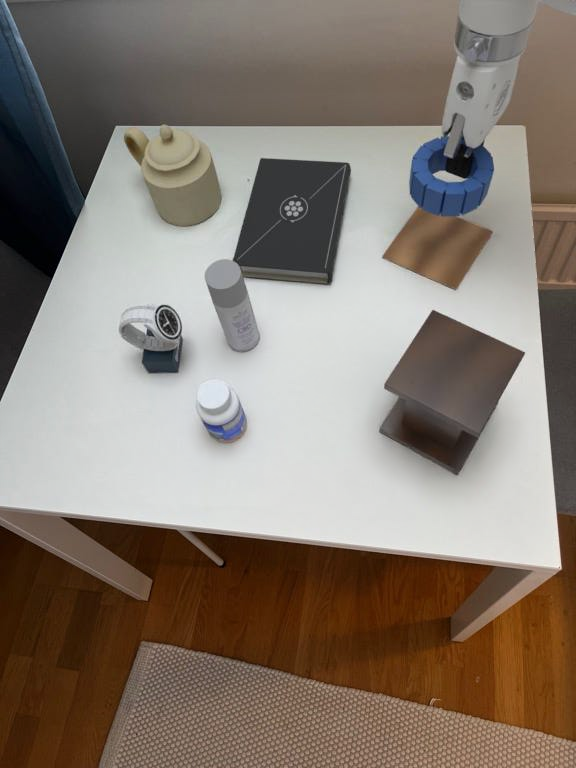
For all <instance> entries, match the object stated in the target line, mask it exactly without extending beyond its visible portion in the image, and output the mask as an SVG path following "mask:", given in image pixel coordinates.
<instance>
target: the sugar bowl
mask: <svg viewBox="0 0 576 768" xmlns="http://www.w3.org/2000/svg"><path fill="white" fill-rule="evenodd" d="M123 141H124V144H125V146H126V148H127V150H128V152H129V154H130V155H131V156H132V158H133V159H134V160H135V161H136V163H137V164H138V165H139V166H140V172H141V175H142V177H143V180H144V182H145V185H146V188H147V190H148V192H149V195H150V197H151V199H152V202H153V203H154V206H155V208H156V210H157V212H158V214H159V216H160V217H161V218H162V220H164V221H165V222H167V223H169V224H170V225H174V226H178V227H190V226H196V225H198V224H201V223H203V222H205V221H207V220H208V219H210V217H212V216H213V215H215V214H216V212H217V211H218V210H219V208H220V206H221V203H222V191H221V186H220V182H219V178H218V174H217V169H216V166H215V163H214V159H213V155H212V152H211V150H210V148H209V147H208V145H207V144H206V143H205V142H203V141H202V140H201V139H198V137H197V136H196V135H195V134H194V133H192V132H190V131H187V130H183V129H172V128H171V127H170V126H169V125H167V124H161V126H160V127H159V134H157V135H156V136H155V137H153V138H151V140H150V139H149V138H148V136H147V135H146V134H145V132H143V131H142V130H141V129H140V128H138V127H136V126H131V127H128V128H127V129H126V130H125V132H124V134H123Z"/></svg>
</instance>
